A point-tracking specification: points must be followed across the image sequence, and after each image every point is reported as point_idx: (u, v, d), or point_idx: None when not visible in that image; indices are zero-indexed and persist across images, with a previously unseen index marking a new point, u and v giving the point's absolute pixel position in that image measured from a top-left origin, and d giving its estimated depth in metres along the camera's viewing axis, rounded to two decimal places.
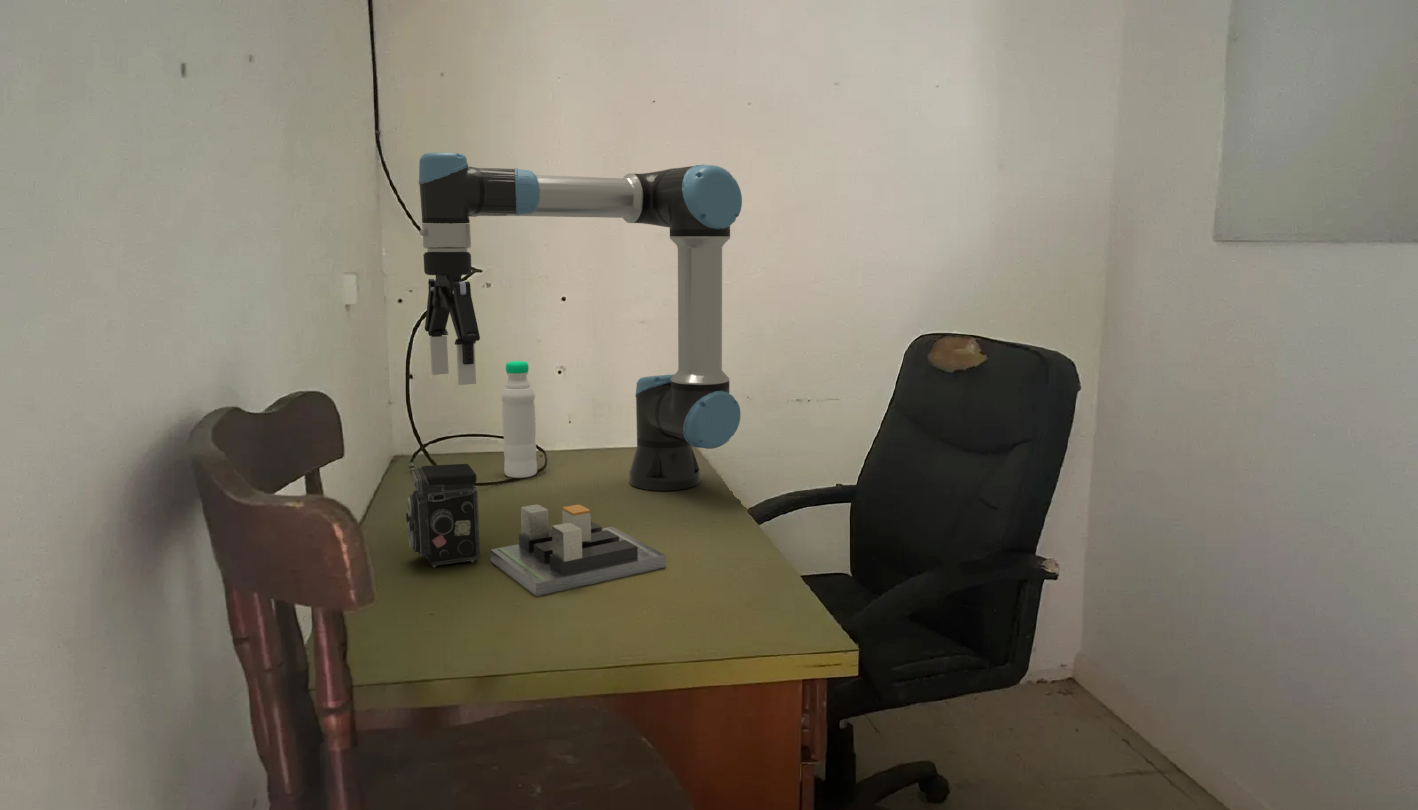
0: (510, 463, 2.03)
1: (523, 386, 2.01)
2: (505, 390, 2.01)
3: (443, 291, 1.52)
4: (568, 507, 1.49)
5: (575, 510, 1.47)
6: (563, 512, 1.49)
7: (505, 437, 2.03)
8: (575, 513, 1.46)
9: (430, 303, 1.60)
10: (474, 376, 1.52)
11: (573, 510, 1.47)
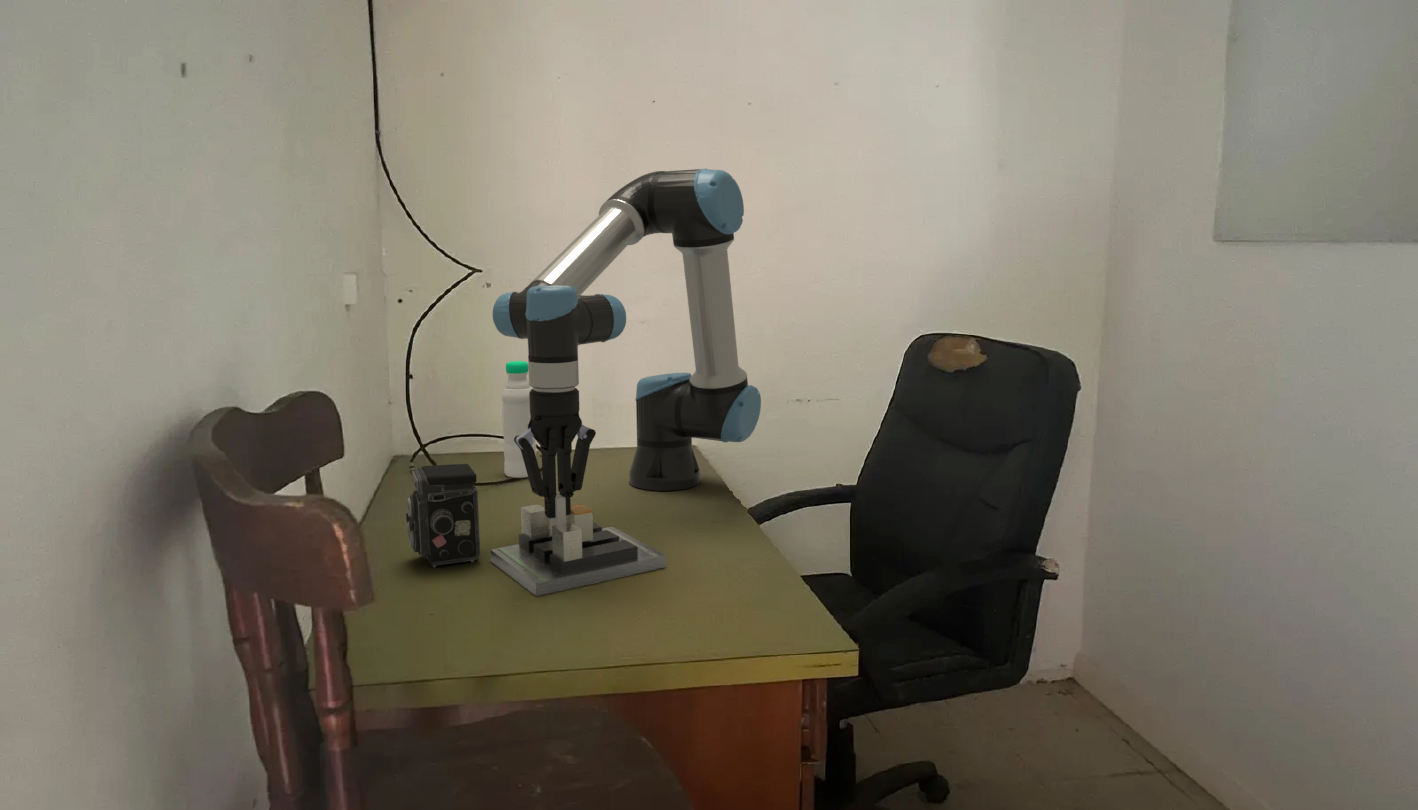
0: (510, 463, 2.03)
1: (523, 386, 2.01)
2: (505, 390, 2.01)
3: None
4: None
5: (577, 510, 1.47)
6: None
7: (505, 437, 2.03)
8: (577, 513, 1.46)
9: None
10: None
11: (575, 510, 1.47)
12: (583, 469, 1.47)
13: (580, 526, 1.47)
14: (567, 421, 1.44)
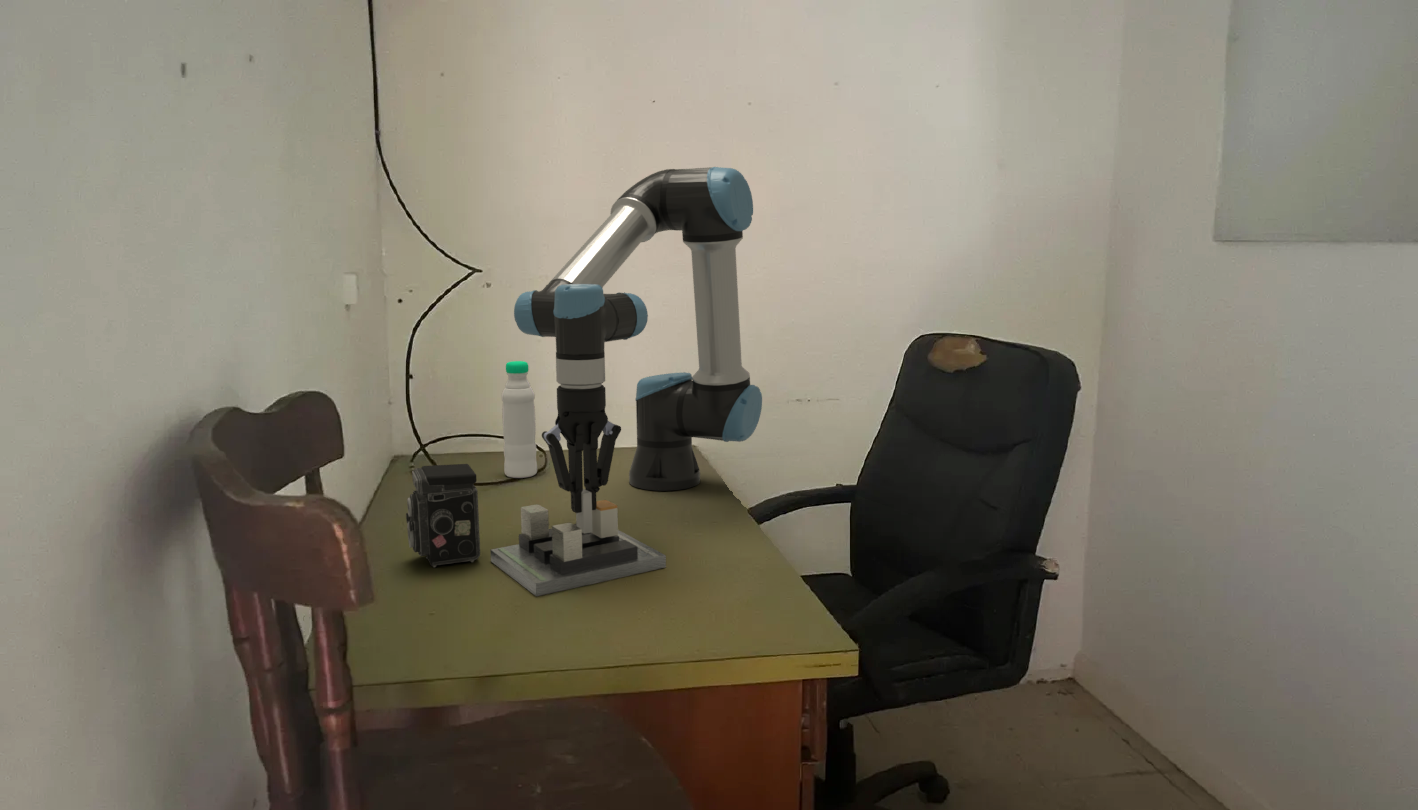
0: (510, 463, 2.03)
1: (523, 386, 2.01)
2: (505, 390, 2.01)
3: None
4: None
5: (602, 505, 1.50)
6: None
7: (505, 437, 2.03)
8: (602, 508, 1.49)
9: (600, 447, 1.50)
10: (583, 526, 1.48)
11: (600, 505, 1.50)
12: (609, 464, 1.49)
13: (605, 521, 1.49)
14: (593, 417, 1.46)
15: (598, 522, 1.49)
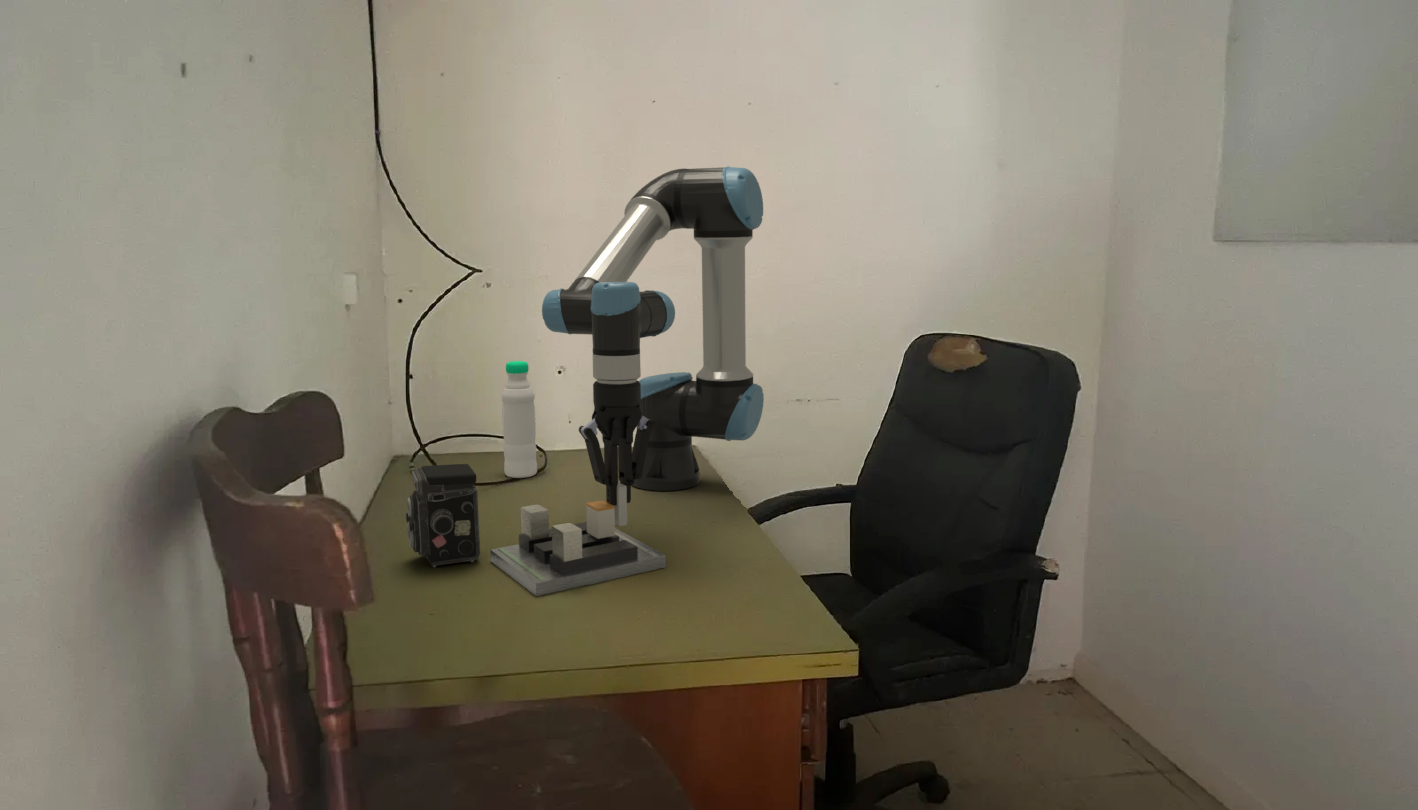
0: (510, 463, 2.03)
1: (523, 386, 2.01)
2: (505, 390, 2.01)
3: None
4: (592, 503, 1.51)
5: (599, 506, 1.49)
6: (587, 508, 1.51)
7: (505, 437, 2.03)
8: (599, 509, 1.48)
9: (634, 441, 1.54)
10: (618, 518, 1.51)
11: (597, 506, 1.49)
12: (643, 458, 1.52)
13: (602, 522, 1.49)
14: (629, 412, 1.50)
15: (595, 522, 1.49)
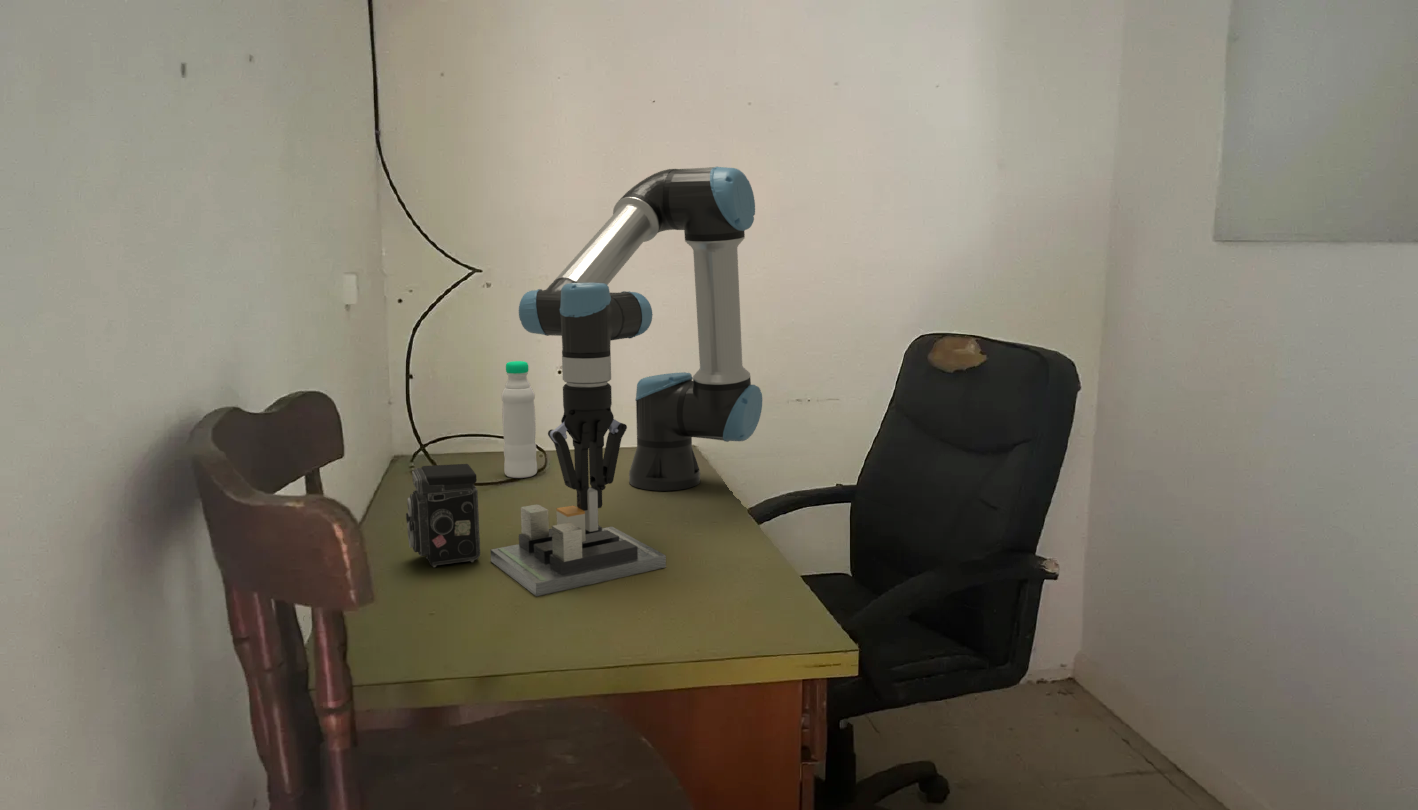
0: (510, 463, 2.03)
1: (523, 386, 2.01)
2: (505, 390, 2.01)
3: None
4: (562, 508, 1.48)
5: (569, 511, 1.47)
6: (557, 513, 1.48)
7: (505, 437, 2.03)
8: (569, 514, 1.45)
9: None
10: (589, 524, 1.48)
11: (567, 511, 1.47)
12: (614, 463, 1.49)
13: None
14: (599, 415, 1.47)
15: None
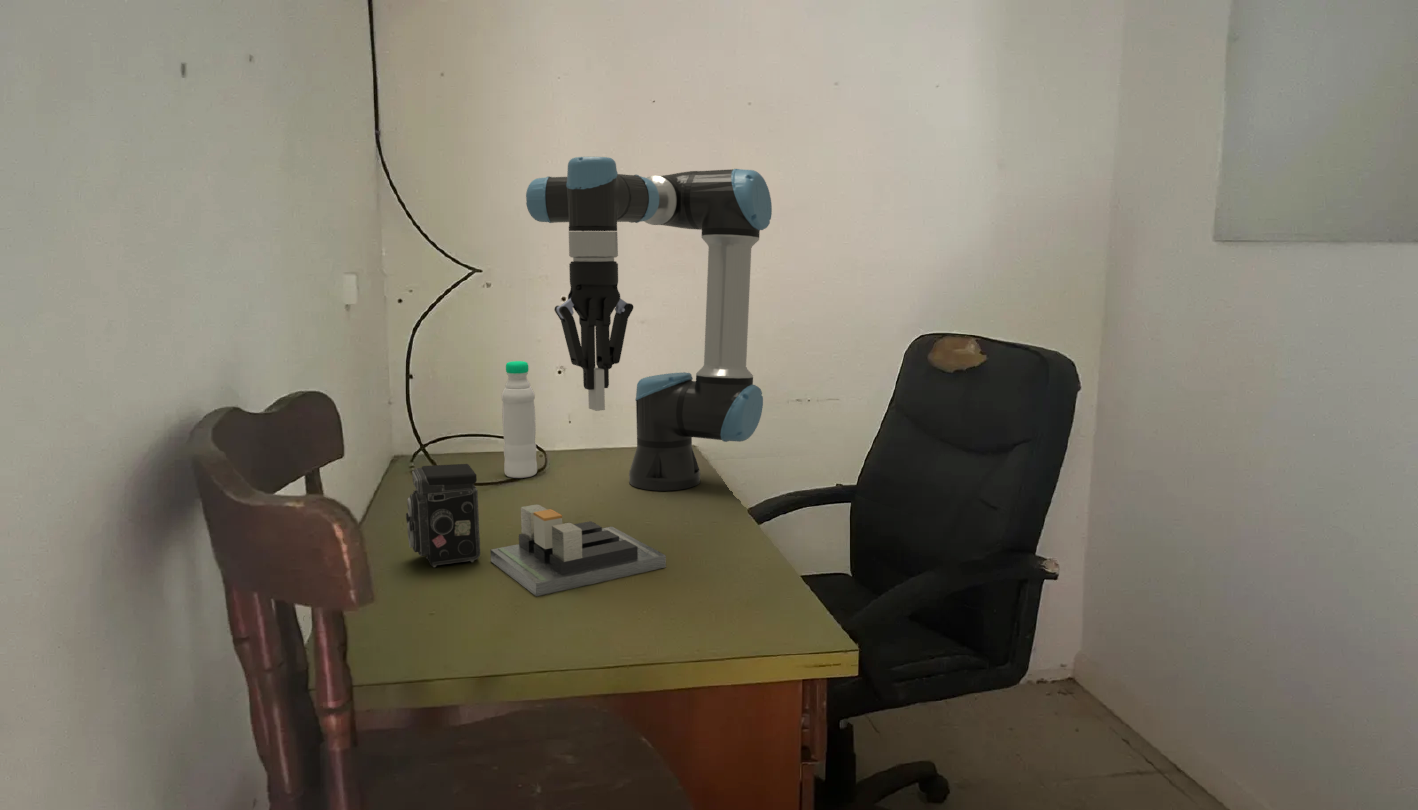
0: (510, 463, 2.03)
1: (523, 386, 2.01)
2: (505, 390, 2.01)
3: None
4: (540, 512, 1.46)
5: (546, 515, 1.45)
6: (534, 517, 1.46)
7: (505, 437, 2.03)
8: (546, 518, 1.43)
9: (612, 326, 1.50)
10: (595, 403, 1.48)
11: (544, 515, 1.45)
12: (621, 343, 1.49)
13: (549, 532, 1.44)
14: (606, 293, 1.46)
15: (542, 532, 1.44)
